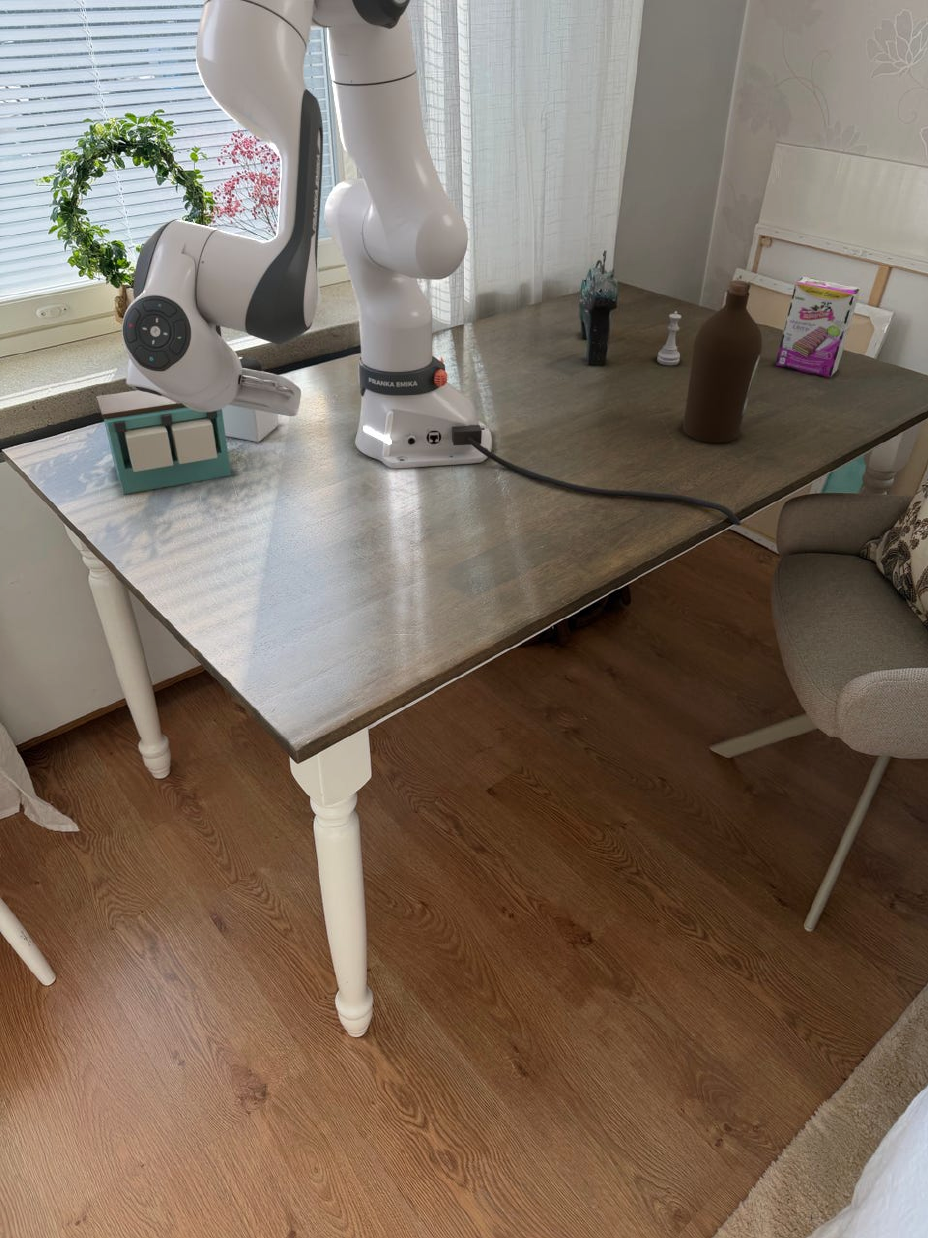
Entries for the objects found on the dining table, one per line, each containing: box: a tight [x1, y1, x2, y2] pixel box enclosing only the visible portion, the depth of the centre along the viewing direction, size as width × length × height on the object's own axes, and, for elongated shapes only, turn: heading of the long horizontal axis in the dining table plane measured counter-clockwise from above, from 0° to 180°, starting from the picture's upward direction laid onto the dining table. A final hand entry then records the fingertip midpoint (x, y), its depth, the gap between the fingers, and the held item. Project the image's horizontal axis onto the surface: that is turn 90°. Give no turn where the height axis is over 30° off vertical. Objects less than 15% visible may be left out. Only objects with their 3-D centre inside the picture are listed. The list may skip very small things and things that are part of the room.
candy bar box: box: [775, 276, 861, 378], centre depth 177 cm, size 11×5×16 cm, turn 58°
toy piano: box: [95, 389, 232, 495], centre depth 138 cm, size 10×17×12 cm, turn 114°
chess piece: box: [656, 310, 682, 366], centre depth 180 cm, size 4×4×10 cm
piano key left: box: [124, 424, 173, 472], centre depth 133 cm, size 4×6×5 cm, turn 114°
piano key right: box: [169, 417, 217, 464], centre depth 135 cm, size 4×6×5 cm, turn 114°
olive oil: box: [682, 279, 763, 444], centre depth 150 cm, size 11×11×25 cm
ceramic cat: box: [578, 250, 619, 367], centre depth 181 cm, size 20×6×20 cm, turn 179°
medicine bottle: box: [222, 356, 280, 443], centre depth 150 cm, size 7×7×12 cm
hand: (232, 398), depth 121 cm, fingers closed
